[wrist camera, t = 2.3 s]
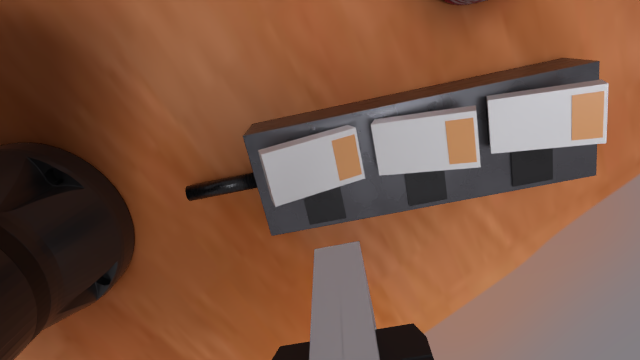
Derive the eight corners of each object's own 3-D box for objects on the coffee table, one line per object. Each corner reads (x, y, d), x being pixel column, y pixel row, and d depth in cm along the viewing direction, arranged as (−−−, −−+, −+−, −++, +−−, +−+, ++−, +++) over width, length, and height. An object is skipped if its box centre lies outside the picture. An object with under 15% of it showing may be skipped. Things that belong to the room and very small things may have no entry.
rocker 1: (271, 200, 27) (275, 207, 25) (257, 150, 25) (261, 154, 24) (357, 173, 28) (365, 178, 27) (348, 124, 27) (356, 127, 25)
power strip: (211, 226, 34) (194, 253, 30) (181, 139, 32) (158, 155, 27) (563, 158, 32) (601, 178, 27) (563, 57, 29) (605, 61, 25)
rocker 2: (383, 168, 28) (379, 176, 27) (374, 119, 27) (370, 124, 25) (479, 159, 25) (480, 167, 24) (475, 105, 24) (476, 110, 23)
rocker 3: (489, 147, 27) (491, 154, 26) (486, 95, 26) (487, 100, 25) (599, 136, 25) (606, 143, 24) (600, 79, 24) (608, 83, 22)
